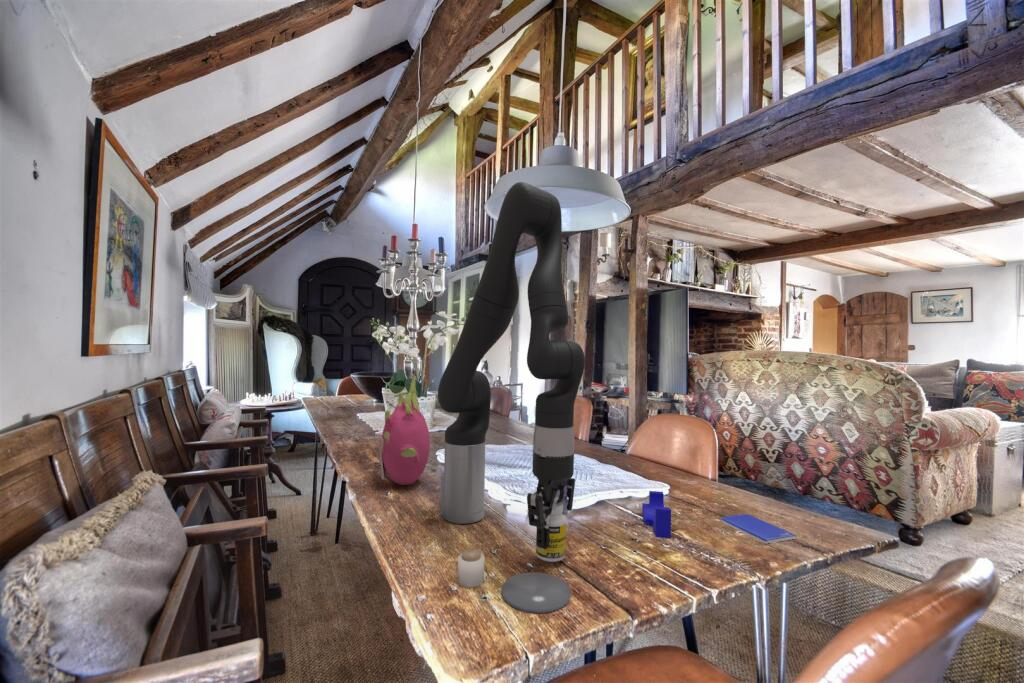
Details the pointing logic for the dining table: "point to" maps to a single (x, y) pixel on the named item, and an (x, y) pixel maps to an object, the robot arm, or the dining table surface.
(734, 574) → the dining table surface
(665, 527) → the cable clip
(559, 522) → the supplement bottle
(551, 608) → the slate coaster
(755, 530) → the hard drive
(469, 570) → the salt cellar
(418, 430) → the pink dragon fruit
